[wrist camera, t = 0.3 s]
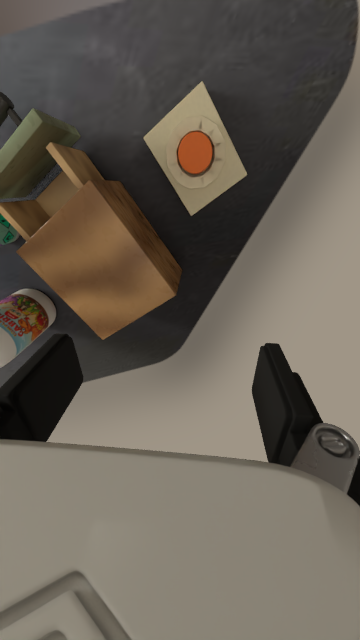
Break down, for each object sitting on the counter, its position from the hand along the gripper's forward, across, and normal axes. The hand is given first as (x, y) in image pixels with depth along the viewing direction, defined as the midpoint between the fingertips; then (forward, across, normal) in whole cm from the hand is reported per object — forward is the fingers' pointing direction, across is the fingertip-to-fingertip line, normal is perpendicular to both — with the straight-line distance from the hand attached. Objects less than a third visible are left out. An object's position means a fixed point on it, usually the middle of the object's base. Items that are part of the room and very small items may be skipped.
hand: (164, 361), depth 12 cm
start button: (+23, -1, -11) cm, 25 cm away
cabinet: (+26, +10, +1) cm, 28 cm away
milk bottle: (+26, +28, +11) cm, 40 cm away
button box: (+26, -1, -10) cm, 28 cm away
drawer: (+25, +16, -7) cm, 31 cm away
